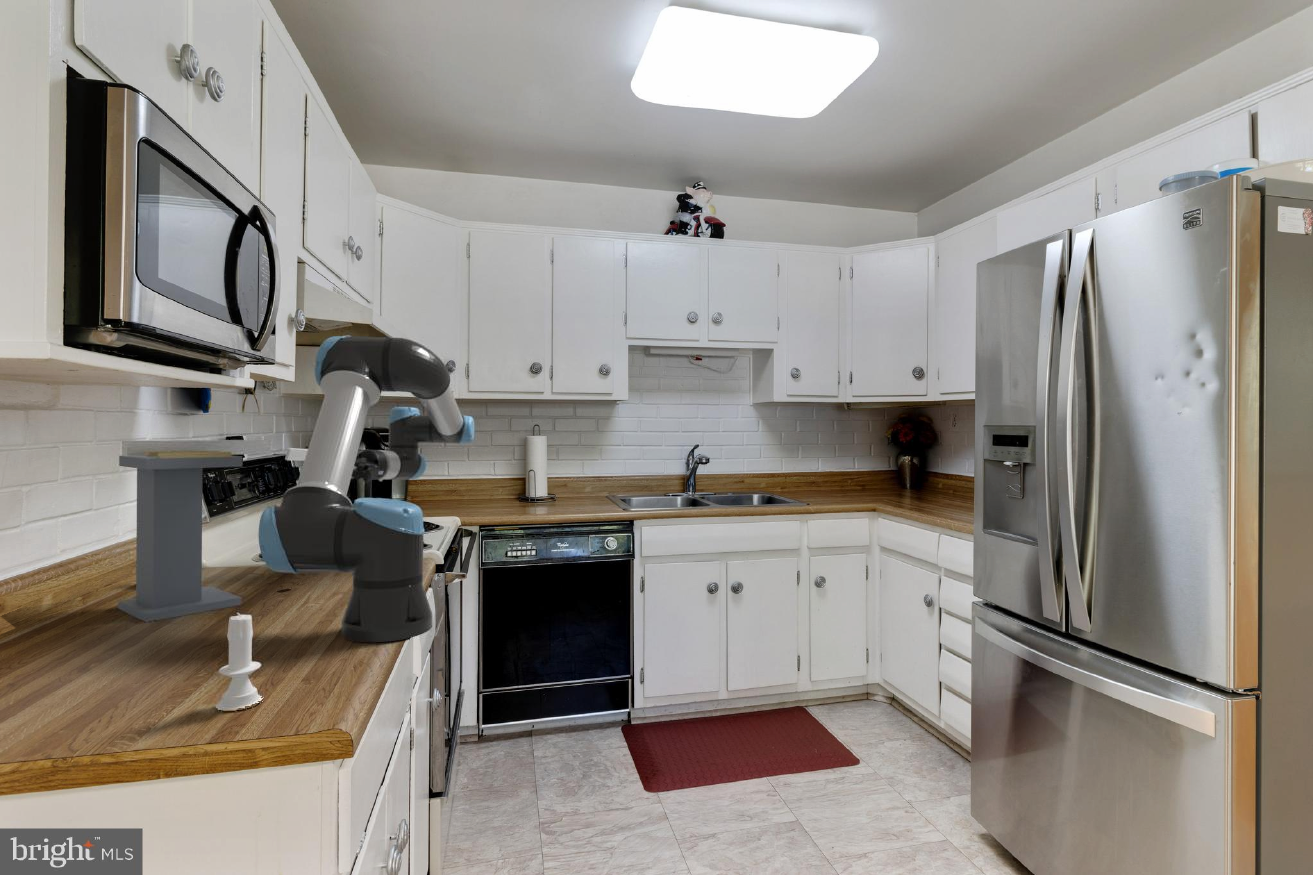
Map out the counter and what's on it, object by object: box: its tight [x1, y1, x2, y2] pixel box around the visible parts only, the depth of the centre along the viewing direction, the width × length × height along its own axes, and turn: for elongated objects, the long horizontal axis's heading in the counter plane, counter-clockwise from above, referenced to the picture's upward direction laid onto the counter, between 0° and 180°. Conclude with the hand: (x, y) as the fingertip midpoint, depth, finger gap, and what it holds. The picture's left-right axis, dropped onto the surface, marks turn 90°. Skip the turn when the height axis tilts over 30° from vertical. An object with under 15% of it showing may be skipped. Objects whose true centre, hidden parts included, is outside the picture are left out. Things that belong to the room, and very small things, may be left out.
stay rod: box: [121, 439, 271, 457], centre depth 139 cm, size 26×3×3 cm, turn 144°
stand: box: [117, 455, 243, 623], centre depth 133 cm, size 16×15×30 cm
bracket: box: [146, 451, 233, 458], centre depth 130 cm, size 12×7×1 cm, turn 144°
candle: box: [215, 612, 264, 711], centre depth 87 cm, size 5×5×12 cm
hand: (309, 462), depth 150 cm, fingers open, 13 cm apart
